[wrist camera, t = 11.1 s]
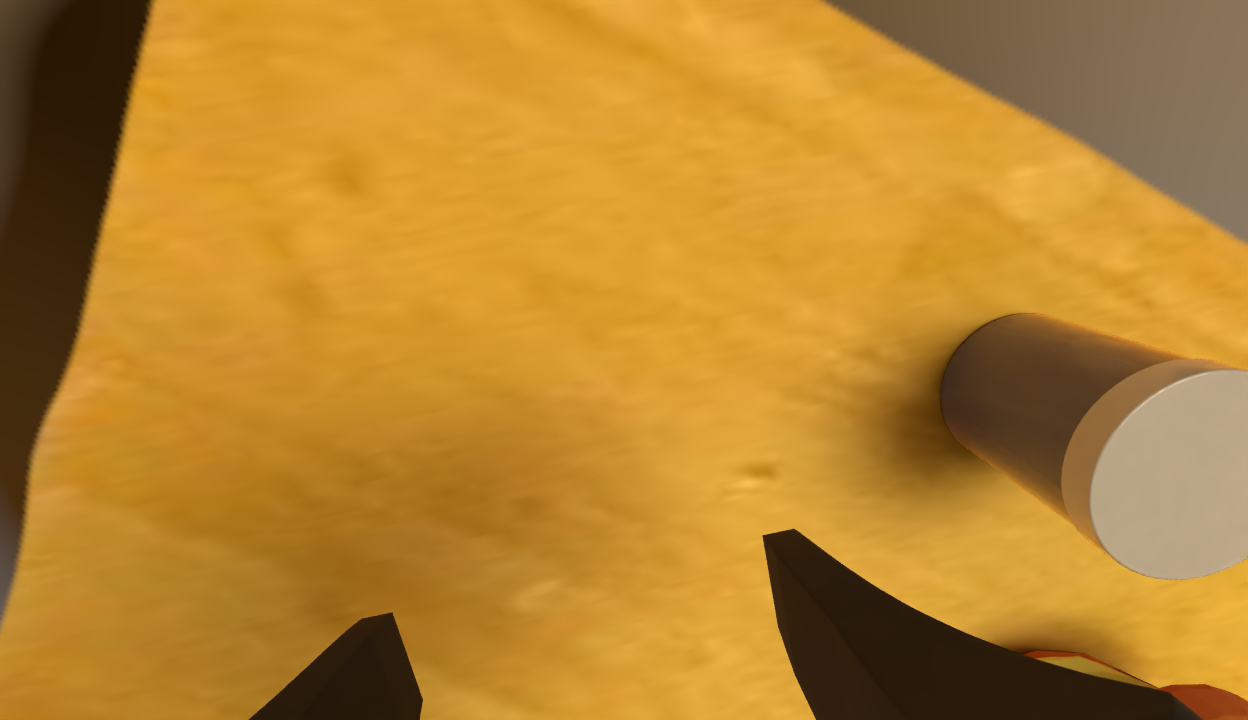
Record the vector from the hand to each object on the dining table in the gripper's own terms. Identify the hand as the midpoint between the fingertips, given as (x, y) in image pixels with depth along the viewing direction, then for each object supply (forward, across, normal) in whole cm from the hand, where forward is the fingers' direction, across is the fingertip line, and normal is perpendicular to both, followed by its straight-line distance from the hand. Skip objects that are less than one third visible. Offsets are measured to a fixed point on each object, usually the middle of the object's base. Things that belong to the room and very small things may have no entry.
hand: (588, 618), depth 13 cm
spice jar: (+9, -14, +1) cm, 17 cm away
